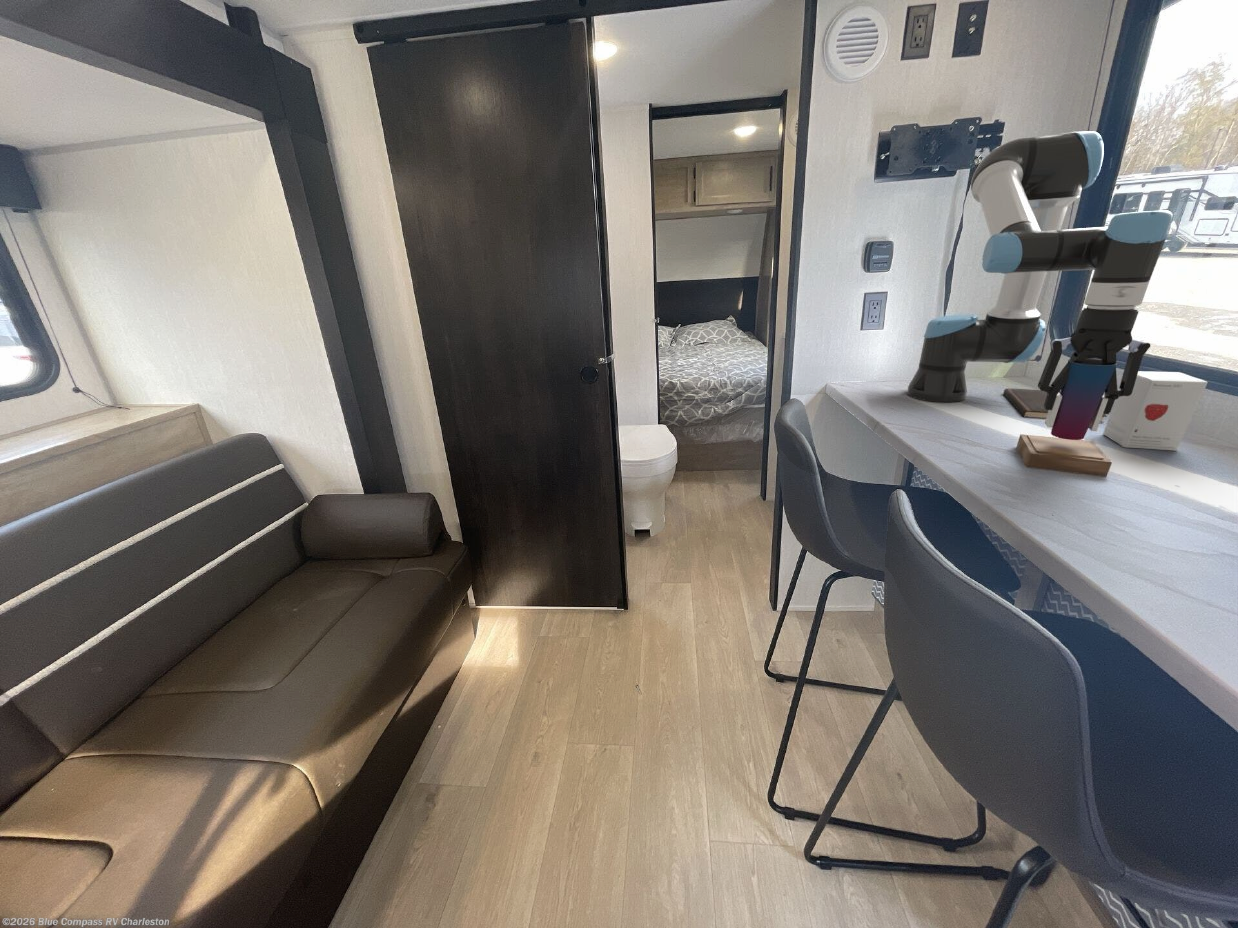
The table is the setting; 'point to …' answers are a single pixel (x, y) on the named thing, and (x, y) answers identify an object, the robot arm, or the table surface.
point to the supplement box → (1155, 411)
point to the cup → (1081, 398)
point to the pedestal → (1063, 455)
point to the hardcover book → (1029, 402)
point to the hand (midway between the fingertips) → (1069, 426)
